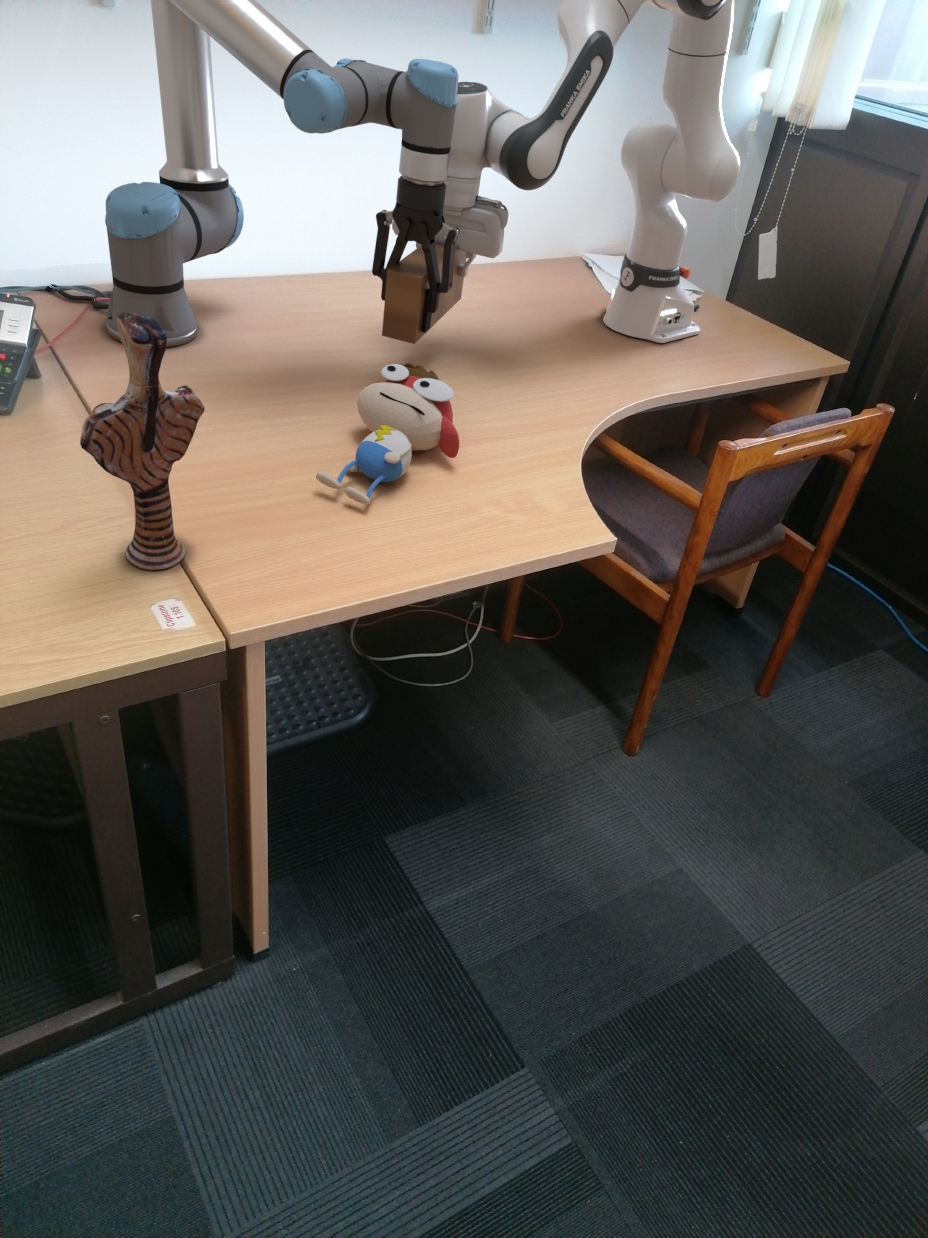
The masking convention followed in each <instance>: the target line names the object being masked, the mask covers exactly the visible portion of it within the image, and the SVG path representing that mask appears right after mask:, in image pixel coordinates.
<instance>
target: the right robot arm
mask: <svg viewBox="0 0 928 1238" xmlns="http://www.w3.org/2000/svg"><path fill="white" fill-rule="evenodd" d="M645 2H646V3H648V4H650V5H652V6H654V7H656V8H659V9H662V10H670V11H671V15H672V21H671V25H670V28H669V29H670V30H669V35H668V41H667V47H666V52H665V53H666V54H665V59H664V68H663V73H662V79H661V80H662V81H661V86H660V88H661V89H660V91H661V97H662V99H663V102H664V103H665V105H666V106H667V107H668V109H669V111H671V114H672V116H673V118H674V121H675V124H676V126H675V125H672V124H669V123H666V122H663V121H639V122H637V123H635V124H634V125H633V126H632V127H631V128H630V129H629V130H628V132H627V133H626V135H625V137H624V139H623V141H622V144H621V147H620V161H621V165H622V168H623V170H624V171H625V173H626V175H627V177H628V179H629V182H630V185H631V189H632V195H633V202H634V217H633V226H632V229H631V235H630V239H629V244H628V248H627V251H626V254H625V255H624V256H623V260H622V261H621V266H620V271H619V272H620V274H619V276H620V277H619V278H618V281H617V284H616V287H615V289H614V288H612V293H611V301H610V303H609V306H607V307H606V310H605V313H604V316H603V317H602V321H603V323H604V325H605V326H607V327H608V328H610V329H611V330H613V331H615V332H617V333H620V334H621V335H622V334H623V335H625V336H629V337H632V338H638V339H641V340H647V341H651V342H654V343H657V344H665V343H669V342H674V341H677V340H680V339H685V338H688V337H692V336H696V335H699V334H700V332H701V328H700V326H699V325H697V323H695V322H694V321H693V317H694V313H695V311H696V310H698V309H700V304H695V305H694V301H693V300H692V298H691V297H690V296H689V294H688V293H687V292H686V290H684V288H683V287H682V285H681V284H680V282H681V277H682V278H683V279H685V280H687V279H689V278H690V277H691V275H692V270H691V269H690V268H687V267H686V266H682V267H681V266H680V260H681V257H682V253H683V250H684V247H685V243H686V239H687V235H688V224H687V221H686V219H685V217H684V216H683V215H682V214H681V212H680V210H679V208H678V204H677V198H676V195H680V196H682V197H685V198H687V199H691V200H693V201H699V202H700V201H701V202H710V203H711V202H712V203H717V202H718V203H719V202H720V201H722V200H723V199H725V198H726V197H727V196H728V195H730V193H731V192H732V190H733V189H734V188H735V186H736V185H737V182H738V180H739V177H740V173H741V159H740V156H739V152H738V151H737V150H736V148H735V147H734V145H733V143H732V142H731V140H730V138H729V135H728V132H727V129H726V126H725V121H724V120H725V119H724V115H723V103H722V97H723V89H724V81H725V75H726V68H727V62H728V56H729V51H730V47H731V45H730V44H731V41H732V34H733V25H734V12H735V0H561V3H560V5H559V7H558V10H557V13H556V14H557V15H556V28H557V33H558V34H557V35H558V38H559V40H560V42H561V45H562V46H563V48H564V50H565V52H566V55H567V62H566V65H565V69H564V71H563V72H562V74H561V76H560V79H559V80H558V82H557V83H556V85H555V87H554V88H553V90H552V92H551V94H550V96H549V98H548V99H547V101H546V103H545V104H544V106H543V108H542V109H541V110H540V112H539V113H538V114H537V115H534V116H533V117H528V116H525V115H524V114H522V113H520V112H519V111H517V110H514V109H513V108H511V107H509V106H508V105H506V104H505V103H503V102H502V101H501V100H499V99H498V98H497V97H496V96H495V95H494V94H493V93H492V92H491V91H490V89H489V87H488V86H487V85H486V84H483V83H480V82H477V81H476V82H475V81H458V90H457V102H458V103H457V107H456V111H455V118H454V126H453V133H452V140H451V150H450V160H449V167H448V175H447V179H446V180H445V181H443V182H444V183H445V185H446V193H445V201H444V209H443V216H444V219H445V223H446V224H448V225H450V226H451V227H453V228H454V227H458V228H459V229H460V233H459V236H458V238H457V240H456V243H455V246H456V247H459V248H460V251H464V252H466V258H467V259H466V263H465V264H460V265H459V266H458V274H457V275H458V276H462V277H464V278H466V277H467V276H468V273H469V266H471V264H472V263H473V261H474V260H475V259H476V258H477V256H481V257H485V258H489V259H495V258H496V257H498V256H499V255H500V254H501V253H502V252H503V248H504V240H505V239H504V238H505V228H506V227H507V225H508V220H509V210H508V208H507V207H506V205H505V204H503V202H502V201H500V200H497V199H491V198H488V197H486V196H485V197H484V196H481V195H479V194H480V193H479V192H480V186H481V185H480V184H481V178H482V171H483V170H484V169H486V168H487V169H491V170H493V171H494V172H495V173H497V174H499V175H501V176H503V178H506V180H507V181H509V182H510V183H511V184H512V185H514V186H515V187H516V188H517V189H519V190H523V191H534V190H538V189H540V188H542V187H543V186H545V185H546V184H547V183H548V182H550V181H551V179H552V178H553V177H554V175H555V174H556V173H557V171H558V168H559V166H560V164H561V161H562V159H563V156H564V154H565V151H566V148H567V145H568V143H569V141H570V139H571V137H572V135H573V134H574V132H575V130H576V129H577V126H578V124H579V123H580V121H581V120H582V118H583V116H584V115H585V113H586V111H587V109H588V108H589V106H590V104H591V102H592V101H593V99H594V97H595V96H596V94H597V92H598V91H599V89H600V87H601V85H602V84H603V81H605V78H606V76H607V74H608V72H609V69H610V68H611V65H612V62H613V58H614V51H615V47H616V45H617V44H618V42H619V40H620V39H621V36H622V35H623V33H624V32H625V30H626V29H627V28H628V26H629V25H630V24H631V22H632V21H633V19H634V17H635V16H636V14H637V13H638V11H639V10H640V9H641V6H642V5H643V4H644V3H645ZM395 206H396V204H394V207H395ZM391 229H392V231H393V233H394V235H396V236H398V234H399V229H398V227H397V225H396V223H395V221H394V219H393V220H392V224H391ZM435 241H436V242H439V243H443V244H444V243H445V240H444V239H443V231H442V230H440V231H439V232H438V234H437V235H436V236H435ZM420 246H421V244H419V243H417V242H415V249H417V248H418V247H420Z"/></svg>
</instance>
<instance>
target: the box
mask: <svg viewBox="0 0 928 1238" xmlns="http://www.w3.org/2000/svg"><path fill="white" fill-rule="evenodd" d="M443 250H444V244H443V243H439V242H436V254H437V261H438V267H439V273H440V280H442V265H443ZM467 260H468V258H466V252H464V251H460V248H459V247H456V246H455V257H454V270H453V283H452V288H451V289H450V290H449V291H448V292H447V293H440V297H439V305H438V309H437V311H436V312H435V313H432V316H431V325H430V328H429V329H428V330H427V331H426V332H425V333H424V332H421V327H422V318H423V309H424V301H425V293H426V292H427V291H429V290H430V287H429V281H428V274H427V269H426V262H425V256H424V252H423V250H422V245H421V246H420V247H418V248H415V249H414V250H413V251H412V252H410V253H408V254H407V255H406V256H404V257H403V258H401V259H400V262H398V263H397V264H396V265H394V266H392V267H391V268H390V269H388V270H387V282H386V293H385V301H384V307H383V318H382V330H381V336H382V337H385V338H389V339H392V340H397V341H400V342H404V343H408V344H412V345H416V343H418V342H419V340H420V339H422V337H424V336H425V335H426V333H428V331H430V330H431V329H432V328H433V327H434V326H435V325H436V324H437V323H438V322H439V321H440V320H441V319H442V318H443V317H444V316H445V315H446V314H447V313H448V312H449V311H450V310H451V309H453V307H454V306H455V305H456V304H457V303H458V302H459V301H461V299H462V294H463V287H464V281H465V277H462V276H458V275H457V274H458V266H459V265H460V264H465V263H466V262H467Z"/></svg>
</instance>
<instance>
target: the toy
mask: <svg viewBox="0 0 928 1238" xmlns="http://www.w3.org/2000/svg"><path fill="white" fill-rule="evenodd" d="M380 371H381V372H380V373H381V376H382V377H383V378H384V379H385V381H381V382H374V383H371V384H369V385H368V386H366V387H365V388H363V389H362V390H361V391H360V393H359V395H358V397H357V399H356V404H357V406H356V407H357V412H358V414H359V417H360V418H361V420H362V422H363V424H365V426H366V427H367V428H368V429H369V430H370V431H371V433H369V434H368V435H367V436H365V438H364V439H362V441H361V442H360V443H359V445H358V447H357V449H356V451H355V457H354V459H353V460H348V461H347V462H345V464H344V465H345V466H344V468H343V469H342V470H341V472H340V473H339V475H338V477H337V479H336V478H334V477H333V476H331V475H330V474H327V473H325V472H322V471H318V472H316V474H315V478H316V480H317V482H318V483H319V482H320V483H321V484H322V485H324V486H326V487H328V488H331V489H334V490H339V489H341V488H342V482H343V479H344V477H345V475H346V474H347V473H348V472H350V473H356V472H358V471H360V472H362V474H364V475H365V476H366V477H368V478H369V479H372V480H374V481H373V482H372V483H371V485H370V486H369V488H368V489H367V492H366V494H365V493H363V492H362V491H360V490H359V489H356V488H354V487H352V486H347V487H345V489H344V493H345V494H344V495H346V496H347V497H348V498H350V499H351V500H353V501H354V502H357V503H360V504H364V505H369V504H371V496H372V494H373V491H374V490H375V488H376V487H377V486H378V485H379V483H389V482H391V483H392V482H394V481H396V480H399V479H400V478H401V477H402V476H403V475H405V473H406V472H407V471H408V469H409V468H410V467H409V466H410V464H411V461H412V457H413V451H428V450H431V449H433V448H434V447H438V448H439V450H440V451H441V452H442V453H443V454H444V455H445V456H446V457H448V458H450V459H455V458H456V457H457V456H458V454H459V449H460V437H459V433H458V430H457V428H456V427H455V425H454V423H453V422H454V421H453V420H454V412H453V407H452V404H451V403H452V402H451V400H452V399H453V398H454V397H455V392H454V390H453V388H452V387H451V386H450V385H448V384H447V383H446V382H444V381H442V380H440V378H439V376H438V375H437V373H436V372H435V371H434V370H433V369H430V370H429V371H428V370H427V369H426V368H424V367H423V366H422V365H421V364H417V365H416V366H415V365H413V363H409V362H406V363H405V364H404V365H403V364H398V363H391V364H386V365H385V366H384V367H382V369H381V370H380Z"/></svg>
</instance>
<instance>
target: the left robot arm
mask: <svg viewBox="0 0 928 1238" xmlns="http://www.w3.org/2000/svg"><path fill="white" fill-rule="evenodd" d="M150 7H151V17H152V27H153V37H154V47H155V55H156V56H155V57H156V67H157V76H158V77H157V78H158V85H159V86H158V87H159V95H160V106H161V115H162V126H163V136H164V145H165V146H164V148H165V157H166V162H165V163H164V165H162V167H161V168H160V169H159V171H158V177H159V178H158V179H159V182H154V181H153V182H152V181H142V182H140V183H137V182H130V183H126V184H122V185H119V186H117V187H115V188H113V189H112V190H111V191H110V192H109V193H108V194H107V196H106V198H105V215H104V216H105V217H104V221H105V222H104V224H105V227H106V233H107V244H108V250H109V259H110V260H109V261H110V268H111V277H112V291H111V295H110V300H109V303H107V304H106V303H98V301H97V299H96V298H95V297H93V296H90V295H74V294H70V293H68V292H66V291H64V290H63V289H62V290H59V291H58V292H57V291H56V290H54V289H53V288H50V287H49V286H48V285H47V286H46V287H45V288H44V291H46V292H50V291H52V290H54V291H56V292H57V293H58V294H59V295H60V296H62V297H63V298H65V299H67V300H69V301H70V300H71V301H74V302H75V301H77V302H90V303H92V307H93V308H94V309H97V310H107V311H106V315H105V326H106V328H105V329H106V332H107V334H108V335H109V336H110V337H111V338H112V339H114V340H116V341H117V342H120V343H122V341H121V338H120V334H119V330H118V326H117V321H116V320H117V317H118V316H119V315H120V314H122V313H125V312H134V313H139V314H142V315H144V316H150V317H152V318H154V319H156V320H157V321H158V322H160V324H161V326H162V327H163V328H164V330H165V333H166V337H167V343H166V348H171V347H177V346H182V345H184V344H187V343H189V342H191V341H193V340H194V339H195V338H196V337H197V335H198V324H197V320H196V317H195V315H194V311H193V309H192V306H191V304H190V300H189V298H188V296H187V293H186V290H185V278H184V264H186V263H189V262H192V261H194V260H198V259H200V258H204V257H206V256H210V255H215V254H219V253H220V252H222V251H224V250H225V249H227V248H229V247H231V246H232V245H233V244H234V243H235V242H237V240H238V239H239V237H240V236H241V234H242V231H243V227H244V219H245V216H244V215H245V214H244V207H243V203H242V200H241V198H240V196H238V195H237V191H236V190H235V188H234V187H233V186H232V185H231V184H230V179H229V174H228V172H227V171H226V170H225V169H224V168H223V167H222V165H220V163H219V150H218V149H219V148H218V138H217V137H218V136H217V120H216V107H215V92H214V91H215V90H214V75H213V63H212V62H213V60H212V47H211V38H212V40H214V41H215V42H216V43H217V44H219V46H221V48H223V49H224V50H225V51H227V52H228V53H229V54H230V55H231V56H233V58H234V59H236V60H237V61H238V62H239V63H241V64H242V65H243V66H244V67H245V68H246V69H247V70H248V71H250V72H251V73H252V74H253V75H254V76H255V77H256V78H258V79H259V80H260V81H261V82H262V83H263V84H264V85H265V86H267V87H268V88H269V89H270V90H271V91H272V92H274V93H275V94H276V95H277V96H279V97H280V98H281V99H282V100H283V107H284V109H285V112H286V114H287V116H288V118H289V119H290V120H289V121H290V122H291V123H292V125H293V126H294V127H296V129H298V130H300V131H301V132H303V133H307V134H329V133H333V132H335V131H338V130H342V129H345V128H351V127H356V126H357V127H358V126H360V125H361V126H362V125H365V124H376V125H381V126H385V127H390V128H393V129H396V130H401V144H400V153H399V156H400V157H399V165H398V172H399V174H400V176H399V177H398V178H397V185H396V186H397V187H396V197H395V199H396V200H395V201H396V202H395V205H396V206H395V205H394V207H393V209H392V210H387V209H382V210H380V211H379V212H376V214H375V220H376V226H377V232H376V240H375V246H374V253H373V259H372V268H371V273H372V276H374V277H378V278H380V280H381V294H380V298H381V301H384V302H385V293H386V282H387V270H388V269H390V268H391V267H392V266H394V265H396V264H397V263H398V262H400V261H401V260H402V257H403V255H404V252H405V250H406V247H407V244H408V243H409V242H415V243H416V242H417V243H419V244H421V245H422V250H423V252H424V256H425V262H426V269H427V274H428V281H429V287H430V290H429V291H427V292H426V293H425V301H424V309H423V318H422V327H421V332H424V333H425V332H426V331H427V330H428V329H429V328H430V325H431V316H432V313H435V312H436V311H437V309H438V305H439V297H440V293H447V292H448V291H449V290H450V289H451V288H452V283H453V270H454V257H455V243H456V240H457V238H458V236H459V233H460V229H459V228H458V227H454V228H453V227H451V226H450V225H448V224H446V223H445V219H444V216H443V209H444V201H445V193H446V185H445V183H444V182H443V181H445V180H446V179H447V175H448V167H449V160H450V150H451V140H452V133H453V126H454V118H455V111H456V107H457V103H458V102H457V90H458V82H459V73H458V70H457V69H456V67H455V66H453V65H451V64H449V63H446V62H442V61H438V60H432V59H426V58H414V59H413V58H412V59H411V60H410V61H409V62H408V66H407V70H406V71H404V70H398V69H394V68H390V67H386V66H382V65H379V64H375V63H370V62H367V61H366V60H364V59H352V58H347V57H346V58H341V59H339V60H338V61H337V62H336V65H334V66H331V65H330V64H329V63H328V62H326V61H325V60H324V59H323V58H322V57H320V56H319V55H318V54H317V53H316V52H315V51H313V49H311V47H309V46H308V45H307V44H306V43H305V42H303V41H302V40H301V39H300V38H299V37H298V36H297V35H296V34H294V33H293V32H292V31H291V30H290V29H288V27H286V26H285V25H284V24H283V23H282V22H281V21H280V20H278V19H277V17H275V16H274V15H273V14H272V13H270V12H269V11H268V10H267V9H266V8H265V7H263V6H262V4H260V3H259V2H258V1H257V0H150ZM393 219H394V221H395V223H396V225H397V227H398V229H399V234H398V235H396V236H397V237H396V238H395V243H394V245H393V248H392V251H391V253H390V256H389V259H388V261H387V264H386V258H387V253H388V252H387V250H388V244H389V237H390V230H391V226H392V221H393ZM440 230H442V231H443V239H444V240H445V243H444V250H443V265H442V280H440V273H439V267H438V261H437V254H436V241H435V236H436V235H437V234H438V232H439V231H440ZM385 265H386V266H385ZM50 284H51V285H52V286H54V287H59V286H58V285H57V284H55V283H50ZM94 299H95V301H94ZM430 329H431V328H430ZM430 329H429V330H430ZM429 330H428V331H429ZM428 331H427V332H428ZM427 332H426V333H427ZM426 333H425V334H426Z"/></svg>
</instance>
